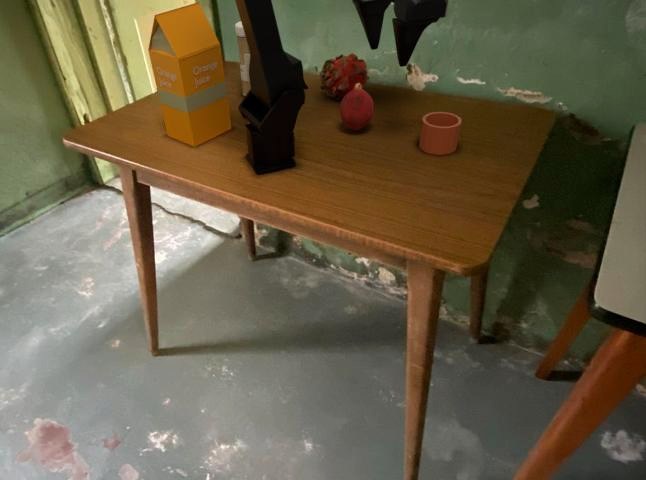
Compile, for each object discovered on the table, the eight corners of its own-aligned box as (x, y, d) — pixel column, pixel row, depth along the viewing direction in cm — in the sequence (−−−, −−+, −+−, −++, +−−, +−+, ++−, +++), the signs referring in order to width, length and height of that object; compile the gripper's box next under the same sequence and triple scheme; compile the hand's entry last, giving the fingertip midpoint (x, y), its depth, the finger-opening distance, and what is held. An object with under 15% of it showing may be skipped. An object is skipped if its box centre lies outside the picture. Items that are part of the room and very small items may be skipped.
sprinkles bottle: (242, 91, 101) (234, 20, 92) (264, 89, 101) (258, 18, 92) (243, 100, 97) (235, 27, 89) (265, 97, 98) (260, 24, 89)
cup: (431, 158, 76) (436, 130, 73) (412, 142, 80) (415, 116, 77) (463, 150, 77) (469, 123, 74) (442, 135, 81) (447, 109, 78)
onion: (371, 138, 82) (375, 91, 76) (337, 137, 83) (338, 90, 78) (373, 123, 86) (377, 77, 81) (341, 122, 87) (342, 77, 82)
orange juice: (232, 128, 88) (216, 4, 75) (194, 147, 83) (170, 18, 70) (203, 118, 92) (183, -1, 79) (166, 135, 87) (138, 11, 74)
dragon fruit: (318, 113, 94) (358, 103, 101) (348, 95, 88) (389, 85, 94) (302, 70, 93) (344, 62, 100) (331, 48, 86) (374, 42, 93)
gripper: (494, -61, 61) (468, 68, 71) (416, -75, 75) (403, 35, 85) (416, -53, 59) (400, 79, 69) (349, -69, 72) (344, 44, 82)
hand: (388, 57), depth 76 cm, fingers open, 9 cm apart
